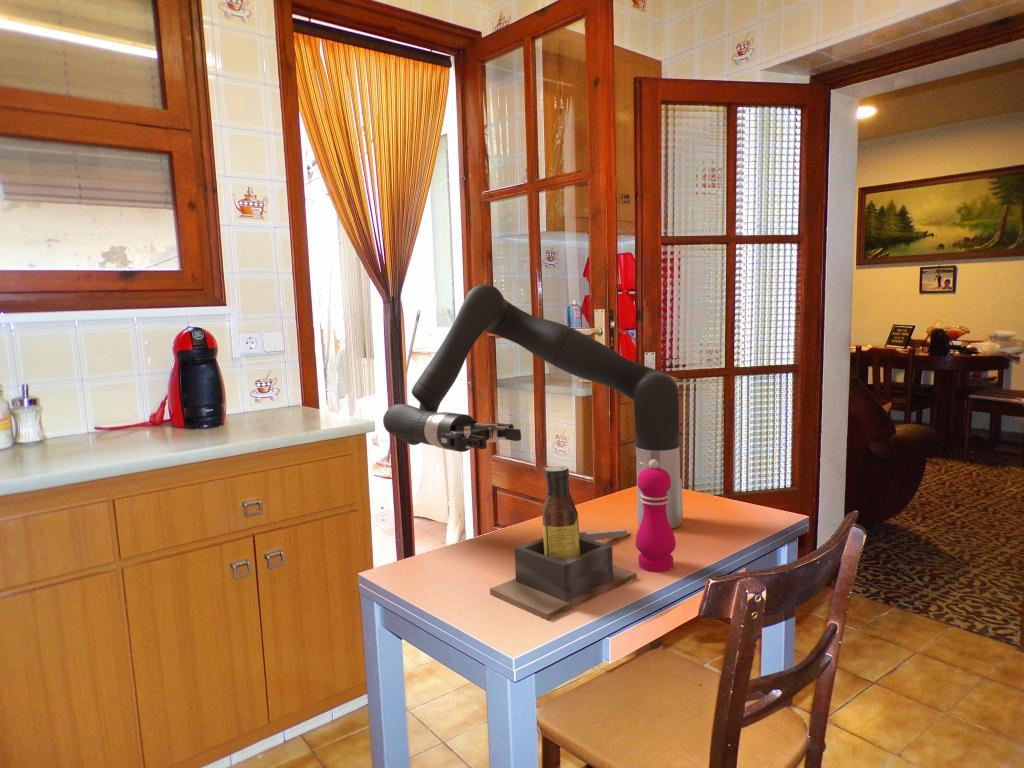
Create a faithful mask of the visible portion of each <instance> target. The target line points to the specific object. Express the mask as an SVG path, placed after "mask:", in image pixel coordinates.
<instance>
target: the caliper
mask: <svg viewBox="0 0 1024 768" xmlns="http://www.w3.org/2000/svg"><path fill="white" fill-rule="evenodd" d="M629 534H630V535H631V534H632V533H631V532H629V531H628V530H626V529H614V530H603V531H592V532H586V531H583V530H579V536H580V537H584V538H587V539H590V540H593V541H601V540H612V539H622V538H624V537H623V536H625V537H627V536H629ZM621 537H622V538H621Z"/></svg>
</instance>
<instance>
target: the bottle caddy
mask: <svg viewBox="0 0 1024 768" xmlns="http://www.w3.org/2000/svg"><path fill="white" fill-rule="evenodd" d="M579 540H580V555H579V556H577V557H574V558H572V559H569V560H567V561H564V562H563V561H560V560H557V559H554V558H551V557H548V556H546V555H545V554H544V540H543V537H542V538H540V539H537V540H534V541H531V542H528V543H525V544H522V545H520V546H517V547H515V548H514V565H515V566H514V567H515V568H514V569H515V578H513V579H510V580H508V581H505V582H503V583H500V584H497V585H496V586H494V587H490V588H489V593H490V596H493V597H495V598H497V599H500V600H502V601H505V602H506V603H509V604H511V605H512V606H515V607H517V608H519V609H522V610H524V611H527V612H529V613H531V614H533V615H534V616H537V615H538V617H539V616H540V618H542V617H543V618H542V619H544V620H546V619H549V620H551V619H553V618H555V617H557V616H556V615H558V614H560V613H562V614H564V613H566V612H568V611H570V610H572V609H574V608H573V607H575V606H577V607H579V606H580V604H581V605H583V604H585V603H587V602H590V601H591V599H592V600H594V599H595V598H597V597H600V596H602V595H604V594H606V593H609V592H610V591H613V590H615V589H617V588H619V587H620V586H623V585H625V584H627V583H628V584H629V581H630V582H632V581H634V580H636V579H637V578H638V577H637V572H635V571H632V570H628V569H627V568H623V567H620V566H617V565H615V564H614V562H613V545H610V544H606V543H603V542H599V541H598V540H590V539H587V538H584V537H580V536H579ZM631 580H632V581H631ZM608 591H609V592H608ZM593 598H594V599H593ZM584 602H585V603H584ZM582 603H583V604H582ZM578 605H579V606H578ZM571 608H572V609H571ZM575 608H576V607H575ZM569 609H570V610H569ZM567 610H568V611H567ZM565 611H566V612H565ZM563 612H564V613H563ZM560 615H561V614H560ZM554 616H555V617H554ZM558 616H559V615H558ZM552 617H553V618H552ZM550 618H551V619H550Z"/></svg>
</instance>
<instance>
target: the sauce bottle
mask: <svg viewBox="0 0 1024 768" xmlns="http://www.w3.org/2000/svg"><path fill="white" fill-rule="evenodd" d="M544 476H545V478H546V486H547V487H546V488H547V489H546V493H547V494H546V498H545V500H544V501H543V504H542V505H541V514H542V536H543V537H542V538H543V540H544V554H545V555H546V556H548V557H551V558H554V559H557V560H560V561H563V562H564V561H567V560H569V559H572V558H574V557H577V556H579V555H580V540H579V531H580V527H579V525H580V524H579V513H578V509H577V508H576V505H575V502H574V501H573V498H572V495H571V492H570V487H569V486H570V485H569V476H570V471H569V468H568V467H567V466H564V465H554V466H549V467H546V468H545V469H544Z"/></svg>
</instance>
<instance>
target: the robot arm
mask: <svg viewBox="0 0 1024 768" xmlns="http://www.w3.org/2000/svg"><path fill="white" fill-rule="evenodd" d="M484 332H486V333H490V334H492V335H494V336H498V337H500V338H503V339H505V340H508V341H511V342H513V343H515V344H517V345H519V346H520V347H522V348H523V349H526V350H527V351H528V352H530V353H531V354H533V355H535V356H536V357H538V358H540V359H542V360H543V361H545V362H547V363H548V364H550V365H552V366H554V367H556V368H558V369H560V370H561V371H563V372H566V373H568V374H570V375H573V376H574V377H578V378H581V379H584V380H587V381H590V382H593V383H598V384H601V385H603V386H608V387H610V388H611V389H613V390H616V391H617V392H620V393H621V394H623V395H625V396H626V397H628V398H629V399H632V400H633V416H634V419H633V420H634V436H635V458H636V459H635V462H636V463H635V464H636V497H637V498H636V501H637V502H636V504H637V507H636V508H637V524H638V525H639V526H640V525H641V522H642V518H643V510H644V508H643V503H642V502H641V494H642V491H641V490H640V489H639V487H638V483H637V481H638V476H639V474H640V472H641V471H642V470H644V469H646V468H650V467H649V462H650V460H652V459H655V460H657V461H658V463H659V466H658V468H661V469H664V470H665V471H667V473H668V474H669V476H670V478H671V487H670V489H669V490H668V491H667V494H668V495H669V497H668V500H669V502H668V503H666V513H667V518H668V522H669V524H670V526H671V529H672V530H673V529H676V528H677V527H680V526H681V524H682V522H683V521H684V518H683V517H684V516H683V515H684V514H683V512H684V511H683V510H684V509H683V505H684V504H683V478H681V469H680V468H681V462H680V461H681V460H680V459H681V458H680V395H679V393H680V392H679V388H678V384H677V382H676V381H675V380H674V378H673V377H672V376H671V375H669V374H668V373H666V372H663V371H660V370H657V369H655V368H652V367H648V366H646V365H645V364H644V365H643V364H642V363H639V362H636V361H633V360H631V359H629V358H627V357H624V356H623V355H621V354H619V353H618V352H616V351H615V350H613V349H611V348H610V347H608V346H607V345H604V344H603V343H602V342H599V341H597V340H596V339H594V338H592V337H591V336H589V335H587V334H585V333H584V332H581V331H579V330H577V329H575V328H572V327H570V326H568V325H565V324H563V323H560V322H556V321H553V320H550V319H546V318H542V317H538V316H534V315H532V314H530V313H528V312H526V311H524V310H522V309H521V308H519V307H517V306H515V305H514V304H512V303H510V301H509V300H506V299H505V297H504V296H503V294H502V292H501V291H500V290H499V288H497V287H495V286H494V285H491V284H478V285H476V286H474V287H473V288H471V289H470V290H469V291H468V292H467V294H466V296H465V298H464V300H463V303H462V304H461V306H460V308H459V311H458V313H457V315H456V317H455V320H454V321H453V324H452V325H451V328H450V330H449V331H448V333H447V335H446V336H445V338H444V340H443V341H442V343H441V345H440V347H439V348H438V349H437V351H436V352H435V354H434V356H433V357H432V359H431V360H430V361H429V363H428V364H427V365H426V368H424V370H423V371H422V373H421V375H420V376H419V378H418V379H417V381H416V382H415V384H414V385H413V386H412V389H411V394H412V396H413V397H414V398H415V399H416V400H417V401H418V403H419V407H416V406H412V405H410V404H405V403H397V404H394V405H392V406H390V407H388V408H387V410H386V411H385V413H384V416H383V419H382V420H383V421H382V423H383V427H384V429H385V431H387V433H389V434H391V435H392V436H394V437H396V438H398V439H400V440H401V441H403V442H405V443H407V444H409V445H411V446H416V445H420V444H424V445H429V446H433V447H434V446H435V447H436V448H439V449H442V450H443V449H444V450H449V451H454V452H459V453H465V452H468V451H470V450H471V449H479V450H487V447H488V446H487V443H497V442H498V441H499V440H500V441H501V440H505V441H514V442H519V441H521V440H522V432H521V429H519V428H514V427H515V425H514V424H513V423H501V422H494V421H493V422H491V423H489V424H488V423H485V424H484V423H483V422H479V423H478V422H477V421H476V419H475V418H474V417H473V416H471V415H469V414H464V413H457V412H449V411H443V412H442V411H441V412H438V410H439V407H440V405H441V403H442V401H443V400H444V398H445V397H446V396H447V395H448V392H449V391H450V390H451V387H452V386H453V385H454V383H455V382H456V379H457V378H458V376H459V375H460V372H461V370H462V368H463V365H464V364H465V361H466V359H467V357H468V355H469V354H470V351H471V350H472V348H473V346H474V345H475V343H476V341H478V339H479V337H481V335H482V334H483V333H484ZM491 436H492V438H490V437H491Z"/></svg>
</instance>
